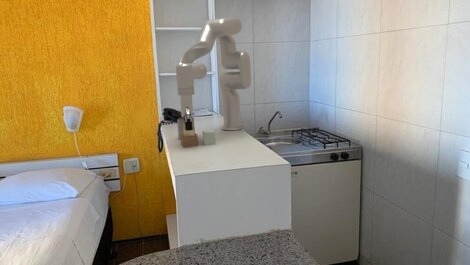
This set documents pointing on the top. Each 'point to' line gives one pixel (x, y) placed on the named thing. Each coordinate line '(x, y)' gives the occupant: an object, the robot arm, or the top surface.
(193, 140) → the walnut block
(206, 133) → the sage block
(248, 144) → the top surface
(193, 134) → the maple block
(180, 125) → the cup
